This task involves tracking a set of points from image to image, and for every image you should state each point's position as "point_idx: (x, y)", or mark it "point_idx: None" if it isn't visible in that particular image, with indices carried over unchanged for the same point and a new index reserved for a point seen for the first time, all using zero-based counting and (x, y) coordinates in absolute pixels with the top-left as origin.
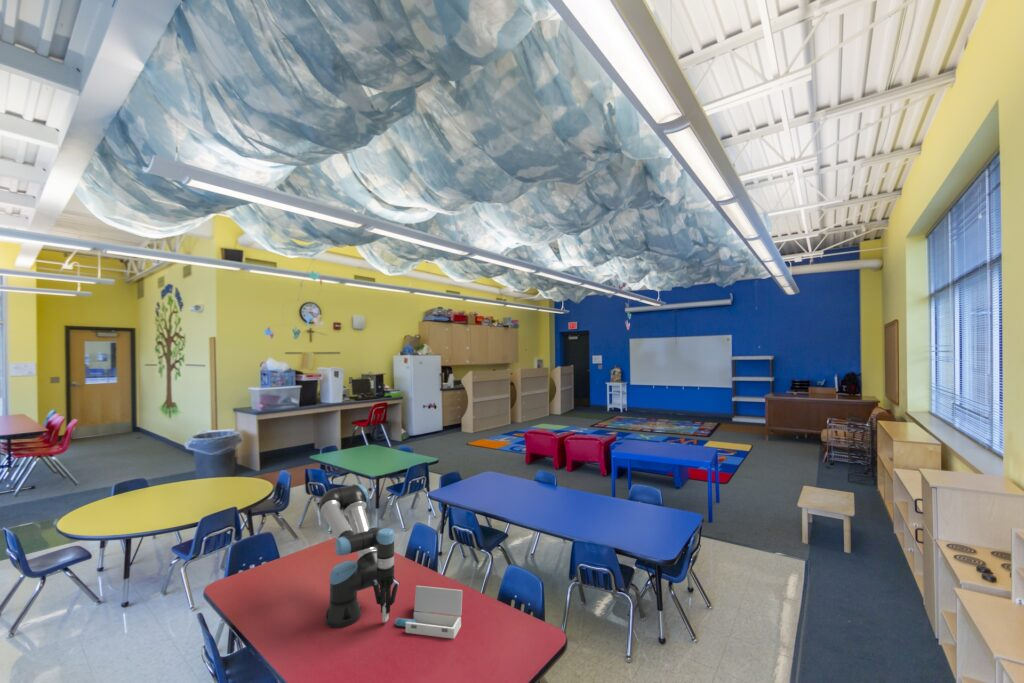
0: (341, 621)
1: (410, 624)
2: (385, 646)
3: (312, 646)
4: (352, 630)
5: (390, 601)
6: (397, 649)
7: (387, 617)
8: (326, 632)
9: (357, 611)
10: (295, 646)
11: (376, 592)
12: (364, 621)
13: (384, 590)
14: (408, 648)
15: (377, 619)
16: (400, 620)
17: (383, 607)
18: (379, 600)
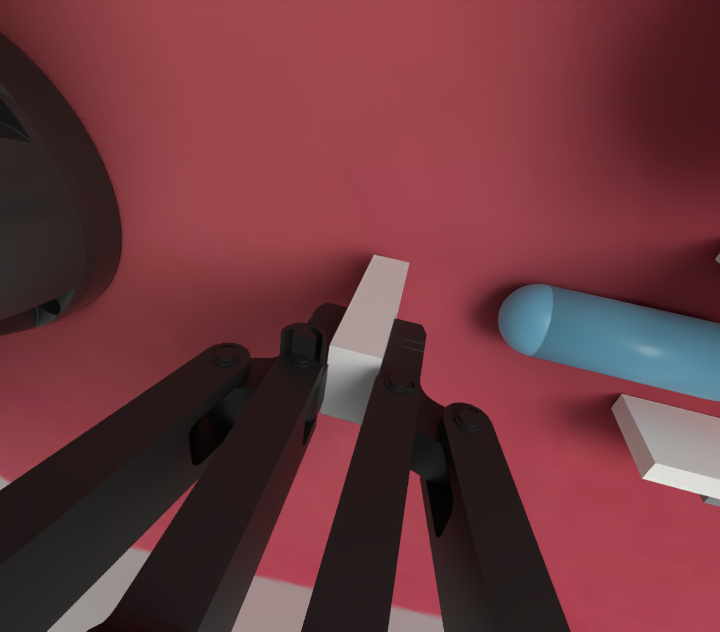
0: (40, 325)
1: (697, 485)
2: None
3: (76, 437)
4: (173, 338)
5: (437, 519)
6: (557, 535)
7: (401, 294)
8: (37, 342)
9: (46, 229)
10: (6, 426)
11: (87, 576)
12: (185, 229)
13: (218, 620)
14: (636, 543)
15: (283, 199)
16: (566, 360)
17: (338, 411)
18: (226, 414)
